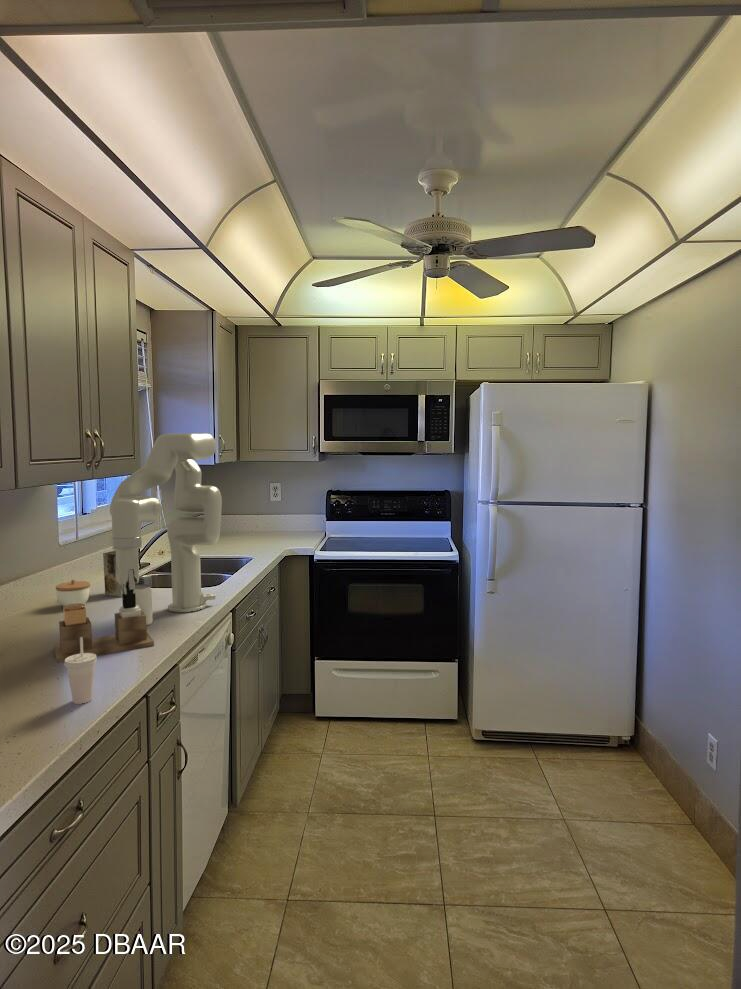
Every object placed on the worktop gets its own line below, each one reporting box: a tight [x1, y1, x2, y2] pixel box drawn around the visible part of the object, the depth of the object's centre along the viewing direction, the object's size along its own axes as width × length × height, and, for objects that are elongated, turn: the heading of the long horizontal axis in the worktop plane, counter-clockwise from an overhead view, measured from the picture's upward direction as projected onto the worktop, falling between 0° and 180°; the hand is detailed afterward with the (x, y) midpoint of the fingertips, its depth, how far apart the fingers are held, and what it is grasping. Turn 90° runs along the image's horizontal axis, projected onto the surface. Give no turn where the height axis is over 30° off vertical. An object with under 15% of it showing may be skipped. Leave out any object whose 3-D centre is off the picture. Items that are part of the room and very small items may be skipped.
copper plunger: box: [62, 603, 87, 627], centre depth 158 cm, size 5×5×8 cm
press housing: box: [53, 610, 155, 663], centre depth 163 cm, size 24×12×8 cm, turn 122°
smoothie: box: [64, 637, 98, 705], centre depth 128 cm, size 6×6×14 cm
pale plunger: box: [118, 605, 141, 618], centre depth 166 cm, size 5×5×8 cm
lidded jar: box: [55, 579, 91, 607], centre depth 205 cm, size 11×11×9 cm
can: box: [135, 584, 154, 627], centre depth 184 cm, size 6×6×12 cm
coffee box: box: [102, 550, 123, 598], centre depth 221 cm, size 9×6×16 cm
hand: (129, 607), depth 165 cm, fingers closed
